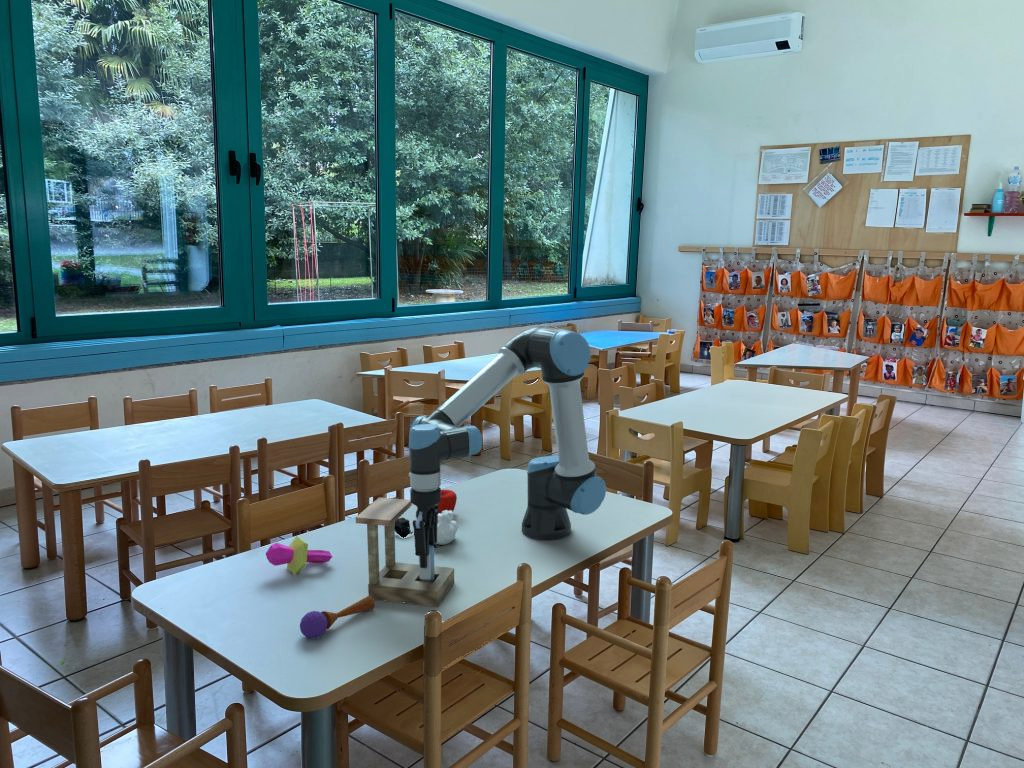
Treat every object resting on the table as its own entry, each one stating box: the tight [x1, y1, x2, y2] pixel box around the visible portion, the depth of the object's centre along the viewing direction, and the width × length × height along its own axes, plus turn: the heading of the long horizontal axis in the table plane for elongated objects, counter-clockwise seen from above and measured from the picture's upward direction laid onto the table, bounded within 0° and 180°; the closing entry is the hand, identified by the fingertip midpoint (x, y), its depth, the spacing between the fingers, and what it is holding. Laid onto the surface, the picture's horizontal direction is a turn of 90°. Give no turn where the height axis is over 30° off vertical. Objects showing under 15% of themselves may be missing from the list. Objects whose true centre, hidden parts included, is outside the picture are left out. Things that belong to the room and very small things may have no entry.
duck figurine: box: [435, 510, 459, 546], centre depth 231 cm, size 12×8×11 cm
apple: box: [436, 489, 458, 514], centre depth 254 cm, size 9×9×8 cm
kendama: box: [299, 595, 376, 639], centre depth 183 cm, size 6×6×20 cm
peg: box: [420, 545, 435, 583], centre depth 199 cm, size 4×4×10 cm
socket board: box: [367, 561, 455, 608], centre depth 200 cm, size 18×14×4 cm
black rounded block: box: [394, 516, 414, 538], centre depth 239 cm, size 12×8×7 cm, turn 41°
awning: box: [355, 496, 413, 584], centre depth 200 cm, size 9×15×18 cm, turn 167°
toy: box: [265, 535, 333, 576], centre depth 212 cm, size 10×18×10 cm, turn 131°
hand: (427, 575), depth 199 cm, fingers closed on peg, 2 cm apart
